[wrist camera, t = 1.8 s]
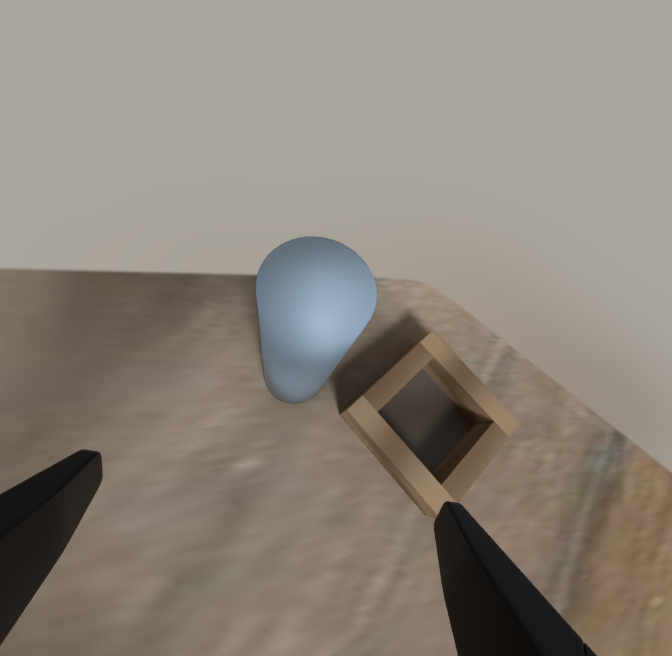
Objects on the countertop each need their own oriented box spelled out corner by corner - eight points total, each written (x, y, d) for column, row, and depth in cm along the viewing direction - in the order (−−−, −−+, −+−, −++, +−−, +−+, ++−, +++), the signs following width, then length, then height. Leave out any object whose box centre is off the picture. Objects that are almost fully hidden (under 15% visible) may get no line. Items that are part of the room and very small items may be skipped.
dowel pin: (336, 377, 23) (400, 298, 12) (290, 416, 22) (311, 371, 10) (298, 333, 24) (323, 218, 12) (251, 369, 22) (229, 276, 11)
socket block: (496, 426, 24) (520, 423, 21) (424, 514, 21) (443, 521, 19) (417, 342, 25) (432, 330, 23) (339, 414, 22) (347, 409, 20)
